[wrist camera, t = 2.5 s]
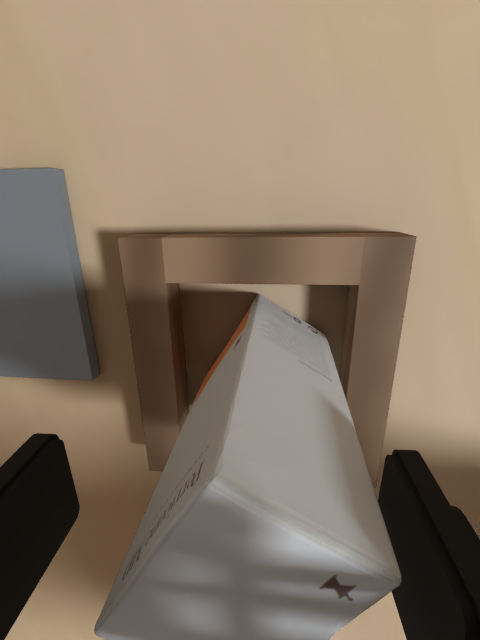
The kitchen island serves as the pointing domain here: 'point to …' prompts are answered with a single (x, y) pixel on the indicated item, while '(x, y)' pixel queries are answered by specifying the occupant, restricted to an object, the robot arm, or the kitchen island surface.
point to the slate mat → (41, 281)
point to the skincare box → (258, 504)
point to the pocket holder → (266, 268)
